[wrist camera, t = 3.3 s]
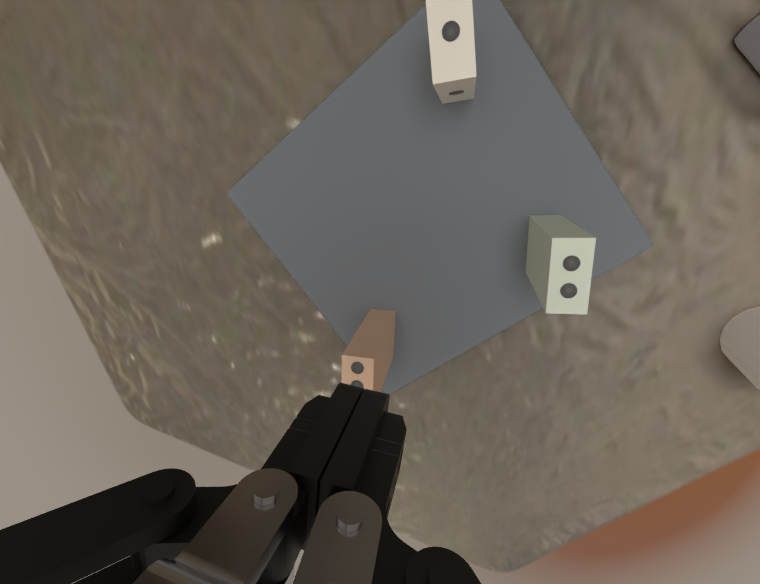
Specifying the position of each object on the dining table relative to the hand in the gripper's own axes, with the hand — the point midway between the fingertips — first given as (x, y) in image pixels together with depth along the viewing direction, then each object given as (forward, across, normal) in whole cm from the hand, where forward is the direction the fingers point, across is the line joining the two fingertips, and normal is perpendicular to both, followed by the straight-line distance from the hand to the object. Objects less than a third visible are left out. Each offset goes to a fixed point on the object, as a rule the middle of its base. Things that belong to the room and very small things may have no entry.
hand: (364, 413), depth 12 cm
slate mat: (+27, -2, +1) cm, 27 cm away
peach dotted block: (+26, -4, -11) cm, 29 cm away
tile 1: (+27, -1, +13) cm, 30 cm away
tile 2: (+27, +8, 0) cm, 28 cm away
